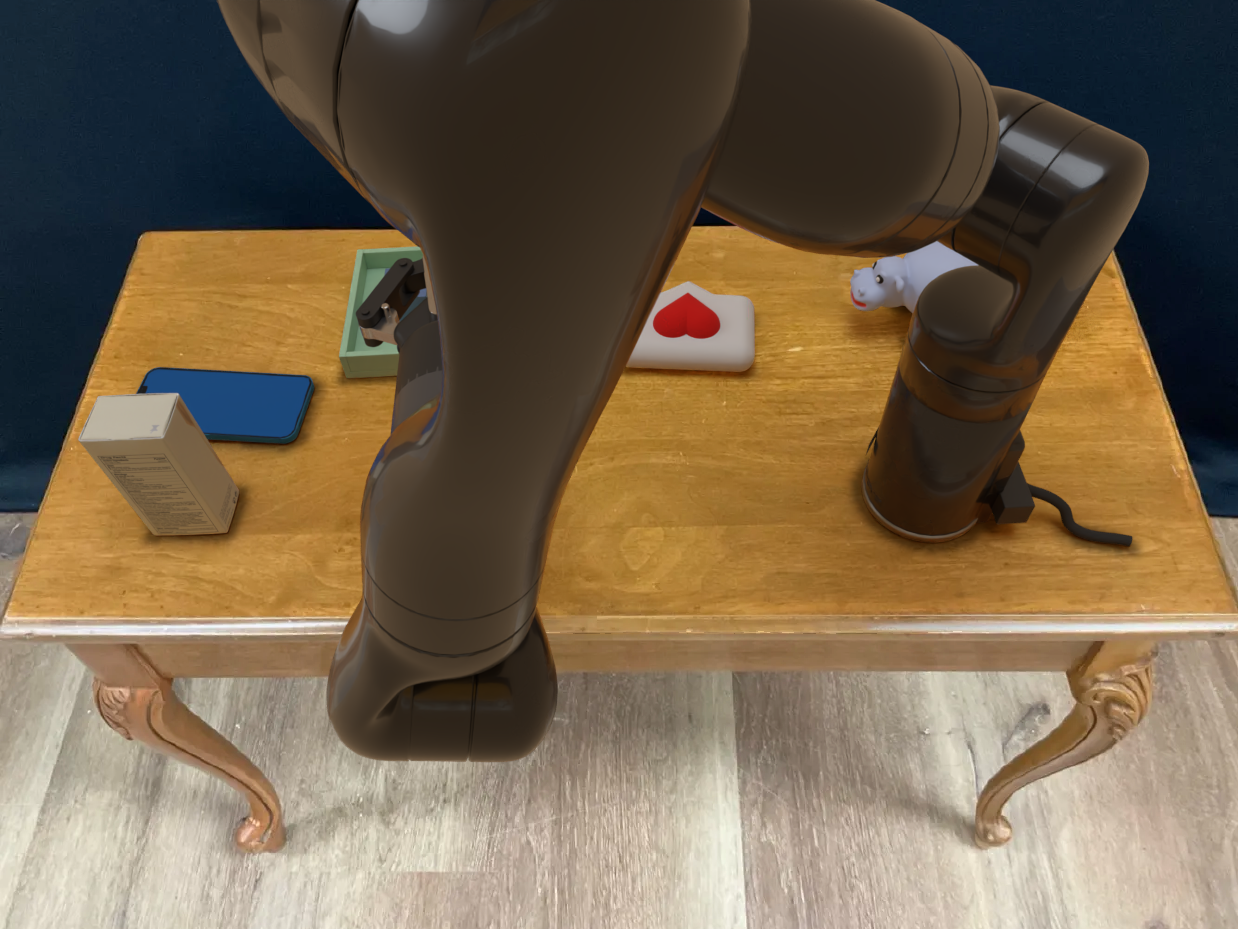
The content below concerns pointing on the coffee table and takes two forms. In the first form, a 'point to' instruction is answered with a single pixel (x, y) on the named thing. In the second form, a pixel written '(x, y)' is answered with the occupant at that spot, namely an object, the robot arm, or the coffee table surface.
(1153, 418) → the coffee table surface
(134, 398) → the cosmetic box
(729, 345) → the icon
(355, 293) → the tray
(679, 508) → the coffee table surface
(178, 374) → the smartphone
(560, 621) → the coffee table surface
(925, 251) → the hippopotamus toy
